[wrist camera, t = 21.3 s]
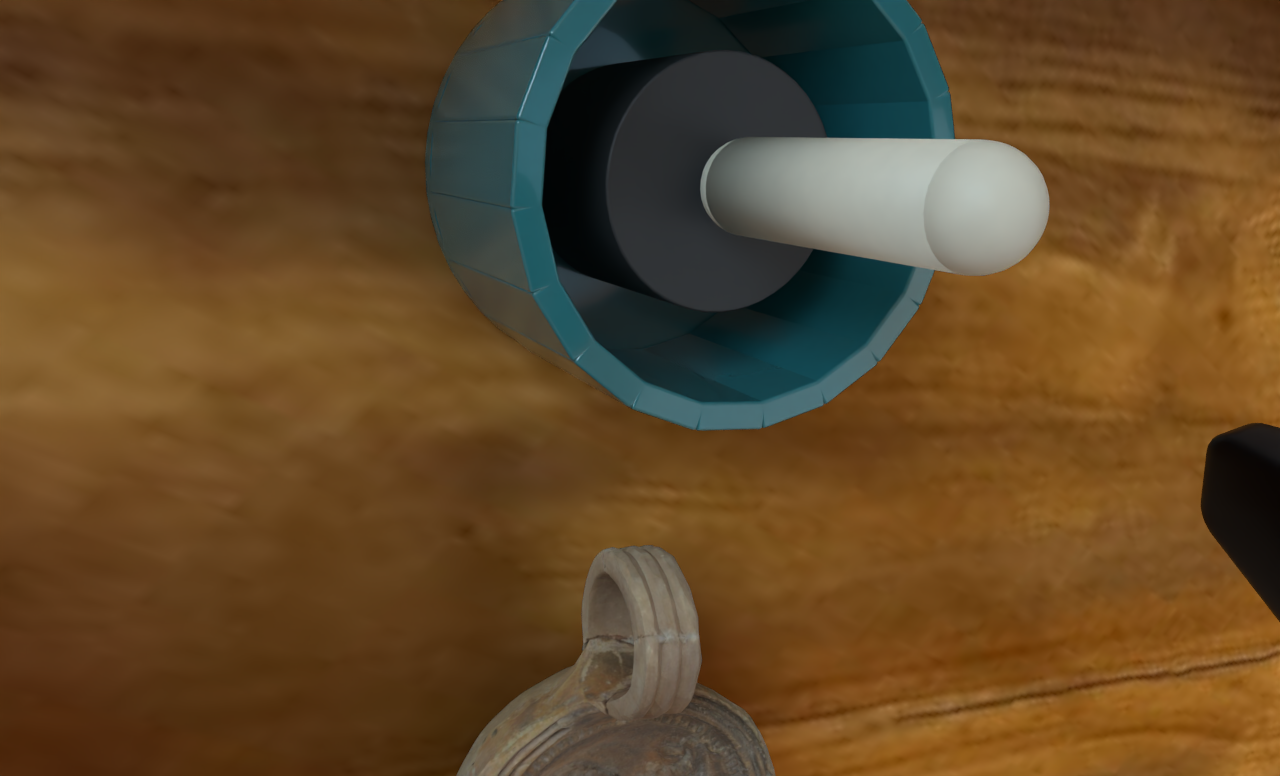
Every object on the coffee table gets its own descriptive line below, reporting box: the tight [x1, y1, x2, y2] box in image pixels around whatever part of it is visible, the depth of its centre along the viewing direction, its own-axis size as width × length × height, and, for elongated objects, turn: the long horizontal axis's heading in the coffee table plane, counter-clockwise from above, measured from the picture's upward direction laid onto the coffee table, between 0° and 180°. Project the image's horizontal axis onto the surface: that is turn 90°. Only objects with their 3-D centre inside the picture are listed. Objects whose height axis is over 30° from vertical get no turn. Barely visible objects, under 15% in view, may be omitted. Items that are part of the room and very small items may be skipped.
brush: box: [542, 50, 1049, 312], centre depth 17 cm, size 4×4×11 cm
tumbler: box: [425, 0, 955, 431], centre depth 20 cm, size 8×8×6 cm
